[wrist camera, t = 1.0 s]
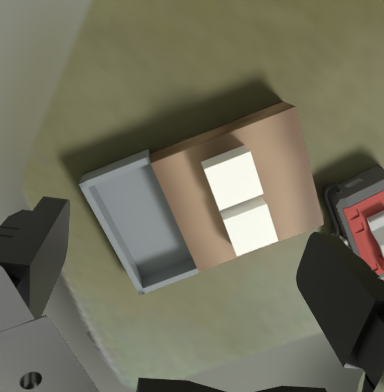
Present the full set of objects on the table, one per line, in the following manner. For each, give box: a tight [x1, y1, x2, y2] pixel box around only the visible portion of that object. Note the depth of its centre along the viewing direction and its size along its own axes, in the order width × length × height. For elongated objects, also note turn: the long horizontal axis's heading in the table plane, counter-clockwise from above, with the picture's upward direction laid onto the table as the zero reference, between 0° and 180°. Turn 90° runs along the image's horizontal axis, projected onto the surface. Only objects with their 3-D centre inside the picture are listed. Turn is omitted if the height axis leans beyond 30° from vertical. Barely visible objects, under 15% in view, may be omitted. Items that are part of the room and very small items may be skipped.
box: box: [79, 149, 200, 295], centre depth 34 cm, size 6×13×2 cm, turn 20°
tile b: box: [219, 195, 278, 256], centre depth 32 cm, size 4×4×2 cm
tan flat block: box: [151, 102, 324, 271], centre depth 33 cm, size 13×12×3 cm
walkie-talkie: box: [322, 166, 384, 278], centre depth 38 cm, size 9×4×20 cm
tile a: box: [201, 145, 264, 211], centre depth 30 cm, size 4×4×2 cm
